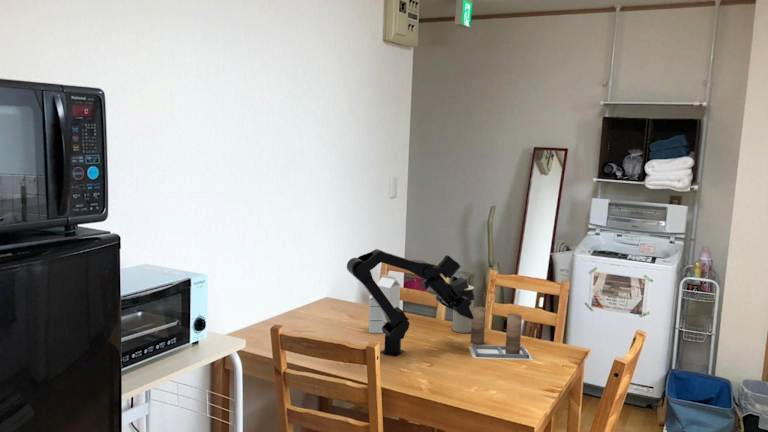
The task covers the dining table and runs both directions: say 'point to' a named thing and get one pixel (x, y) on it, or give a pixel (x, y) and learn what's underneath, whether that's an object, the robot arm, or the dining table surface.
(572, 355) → the dining table surface
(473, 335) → the billet
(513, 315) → the billet
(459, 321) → the travel mug
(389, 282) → the milk carton
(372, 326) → the syrup box
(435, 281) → the robot arm
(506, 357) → the pallet board
